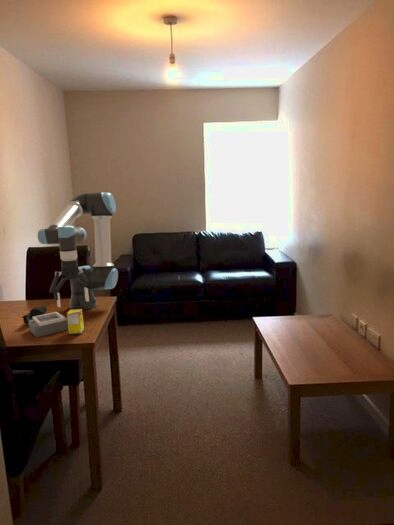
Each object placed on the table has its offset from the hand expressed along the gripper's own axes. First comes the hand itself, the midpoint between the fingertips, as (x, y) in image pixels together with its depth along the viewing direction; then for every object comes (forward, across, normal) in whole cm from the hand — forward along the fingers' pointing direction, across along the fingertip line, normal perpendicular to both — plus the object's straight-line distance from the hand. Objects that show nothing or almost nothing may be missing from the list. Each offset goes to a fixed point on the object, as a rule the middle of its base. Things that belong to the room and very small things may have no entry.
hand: (73, 303), depth 200 cm
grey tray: (+14, +9, -13) cm, 22 cm away
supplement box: (+15, 0, 0) cm, 15 cm away
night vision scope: (+15, +10, -31) cm, 36 cm away
